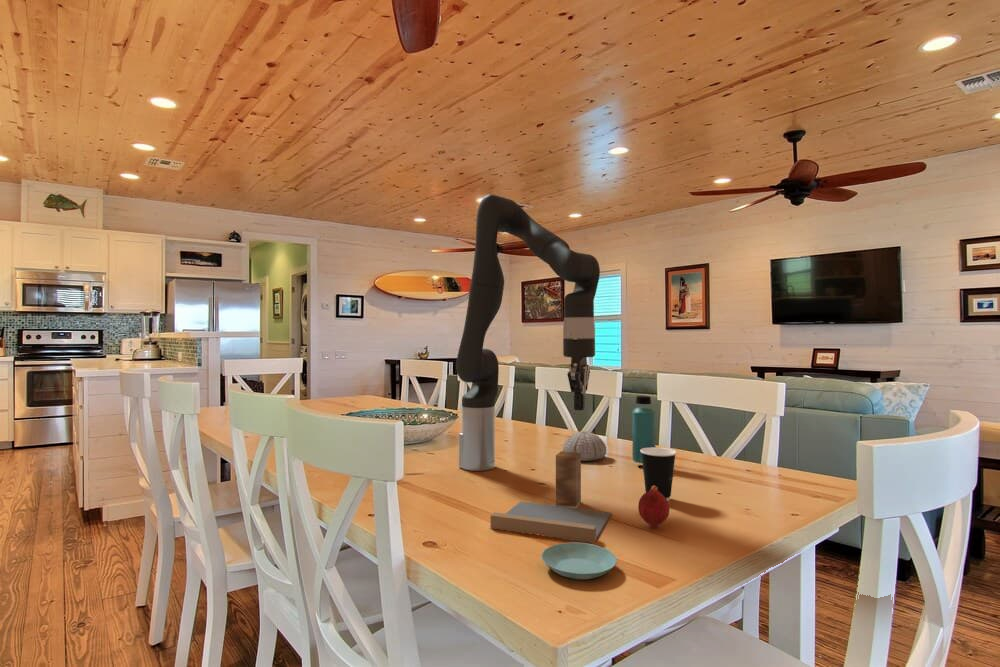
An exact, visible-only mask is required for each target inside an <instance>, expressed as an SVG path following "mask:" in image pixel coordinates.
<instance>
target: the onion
mask: <svg viewBox="0 0 1000 667" xmlns="http://www.w3.org/2000/svg"><path fill="white" fill-rule="evenodd" d="M657 489H658V487H656V486H655V485H654V486H652V487H651V489H650V490H649V491H648V492H646V491H645V492H644V494H642V496H640V498H639V501H638V508H637V509H638V514H639V515H640V518H641V519H642V521H644V522H645V523H646V524H647V525H649V526H650V527H651V528H657V527H658V526H660V525H661V524H662V523H664V522H665V521H666V520H667V519H668V517H669V515H670V505H669V501H668V502H667V500H666V498H665V497H664V496H663V494H661V493H660V492H659V491H658V490H657Z"/></svg>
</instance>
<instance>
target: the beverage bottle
mask: <svg viewBox="0 0 1000 667" xmlns="http://www.w3.org/2000/svg"><path fill="white" fill-rule="evenodd" d="M635 398H636V399H635V403H636V404H638V405H651V404H652V402H651V396H649V395H636V397H635ZM631 413H632V457H631V458H632V461H633V462H634V463H636V464H643V462H642V453H641V452H640V450H641V449H643V448H657V446H656V440H657V439H656V436H657V435H656V422H655V421H656V419H655V418H656V416H655V415H656V412H655V411H654V409H652V407H646V406H645V407H643V406H639V407H638V406H637V407H635V408H634V409H633V410H632V412H631Z"/></svg>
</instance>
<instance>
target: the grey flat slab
mask: <svg viewBox="0 0 1000 667" xmlns="http://www.w3.org/2000/svg"><path fill="white" fill-rule="evenodd" d="M611 515H612V512H609V511H601V510H594V509H587V508H586V509H585V508H578V507H577V508H570V507H561V506H556V505H552V504H543V503H538V502H537V503H536V502H527V501H519V502H517V503H516V505H514V506H513V507H512V508H511V509H510V510H509V511H507V512H505V513H501V512H493V513H492V514H491V515H490V529H491V530H497V529H499V530H500V531H504V530H507V531H506V532H511V531H515V532H514V533H518V532H523V533H522V534H525V533H531V534H530V535H532V534H539V535H544V536H543V537H546V536H551V537H550V538H553V537H557V538H556V539H560V538H563V539H562V540H567V539H569V540H568V541H574V540H576V541H575V542H581V541H583V542H582V543H588V542H591V543H590V544H595V542H596V540H597V539H598V537H599V536H600V535H601V532H602V531H603V529H604V527H605V526H606V524H607V522H608V520H609V519H610V517H611ZM499 530H498V531H499ZM539 535H538V536H539Z"/></svg>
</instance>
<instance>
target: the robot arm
mask: <svg viewBox="0 0 1000 667" xmlns="http://www.w3.org/2000/svg"><path fill="white" fill-rule="evenodd" d="M498 232H499V233H506V234H510V235H511V236H515V237H516V238H518V239H519V240H522V241H523V242H524V243H525V245H526V247H527V248H528V250H529V251H530V252H531V253H532V254H533V255H535V256H536V257H537V258H538V259H540V260H541V261H543V262H544V263H546V264H548V266H549V268H550V269H551V270H552V271H553V272H554V273H555V274H556V275H557V276H558V277H559V278H561V279H562V280H564V281H566V282H569V283H574V288H573V291H572V292H570V293H568V294H565V297H564V300H563V307H564V308H563V324H562V326H563V327H562V352H563V354H562V355H563V357H565V358H570V359H571V360H570V365H568V370H569V371H568V372H567V379H568V384H569V388H570V392H571V393H572V394H573V409H574V410H575V411H584V410H585V407H586V406H585V398H586V397H585V394H586V393H587V391H588V385H589V379H590V374H591V370H590V366H589V364H588V360H587V358H594V357H595V356H596V326H595V325H596V324H595V307H594V306H595V304H594V303H595V302H594V300H595V297H596V293H597V288H598V285H599V280H600V276H601V275H600V274H601V272H600V271H601V269H600V265H599V264H600V263H599V261H598V259H597V258H596V257H595V256H594V255H592V254H588V253H582V252H577V251H573V250H572V249H571V248H570V245H569V244H568V242H567V241H565V240H564V239H563V238H561V237H560V236H558V235H556V234H555V233H554V232H552V231H550V230H548V228H546V227H544V226H542V225H541V224H539V222H537V221H536V220H535V219H534V218H532V217H531V215H529V214H528V213H527V212H526V211H525V210H524V208H522V207H521V206H520V205H519V204H518V203H517V202H516V201H515V200H512V199H509V198H507V197H503V196H500V195H497V194H490V193H489V194H487V195H485V196H484V197H483V198H482V199H481V201H480V202H479V204H478V208H477V214H476V228H475V248H474V249H475V250H474V256H473V257H474V258H473V264H472V265H473V267H472V273H471V277H470V278H471V279H470V284H469V285H470V287H469V291H468V292H469V293H468V301H467V310H466V315H465V319H464V320H465V322H464V327H463V331H462V337H461V340H460V343H459V347H458V353H457V357H456V364H455V366H456V367H455V368H456V374H457V376H458V378H459V379H460V380H461V381H463V382H464V383H471V387H470V389H469V390H468V391H467V392H466V393H465V394H464V395H462V397H461V432H460V433H458V468H460V469H463V470H466V471H475V472H476V471H477V472H479V471H481V472H482V471H489V470H493V469H494V468H495V466H496V463H495V462H496V458H495V455H496V454H495V450H496V449H495V447H496V445H495V443H496V442H495V438H496V436H495V433H496V432H495V431H496V429H495V428H496V427H495V425H496V424H495V423H496V422H495V421H496V420H495V418H496V417H495V416H496V415H495V413H496V411H495V405H496V398H497V397H498V390H499V369H500V368H499V359H498V357H497V355H496V353H495V352H494V351H493V350H491V349H488V348H484V342H485V338H486V334H487V331H488V329H489V327H490V326H491V325H492V322H493V321H494V319H495V317H496V316H497V314H498V312H499V311H500V308H501V305H502V301H503V296H504V295H503V294H504V290H505V289H504V288H505V277H504V273H503V269H502V266H501V263H500V260H499V255H498V252H497V251H498V250H497V242H498Z"/></svg>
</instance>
